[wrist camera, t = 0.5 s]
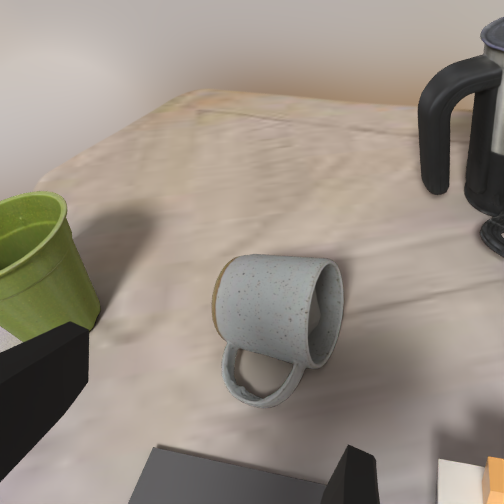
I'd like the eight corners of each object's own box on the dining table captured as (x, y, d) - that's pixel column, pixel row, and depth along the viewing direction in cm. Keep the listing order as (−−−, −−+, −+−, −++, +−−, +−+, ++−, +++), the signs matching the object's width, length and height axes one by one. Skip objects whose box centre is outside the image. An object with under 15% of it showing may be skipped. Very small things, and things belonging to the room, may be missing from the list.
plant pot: (66, 270, 50) (7, 185, 42) (147, 291, 44) (95, 197, 37) (-22, 356, 43) (-110, 272, 35) (61, 395, 37) (-24, 303, 30)
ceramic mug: (258, 293, 40) (235, 228, 35) (349, 308, 37) (338, 238, 32) (204, 398, 34) (166, 337, 29) (307, 429, 30) (286, 365, 25)
